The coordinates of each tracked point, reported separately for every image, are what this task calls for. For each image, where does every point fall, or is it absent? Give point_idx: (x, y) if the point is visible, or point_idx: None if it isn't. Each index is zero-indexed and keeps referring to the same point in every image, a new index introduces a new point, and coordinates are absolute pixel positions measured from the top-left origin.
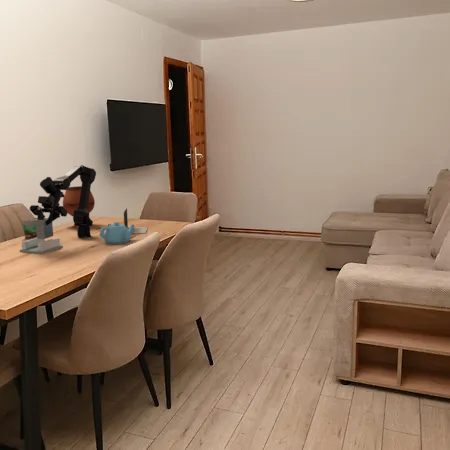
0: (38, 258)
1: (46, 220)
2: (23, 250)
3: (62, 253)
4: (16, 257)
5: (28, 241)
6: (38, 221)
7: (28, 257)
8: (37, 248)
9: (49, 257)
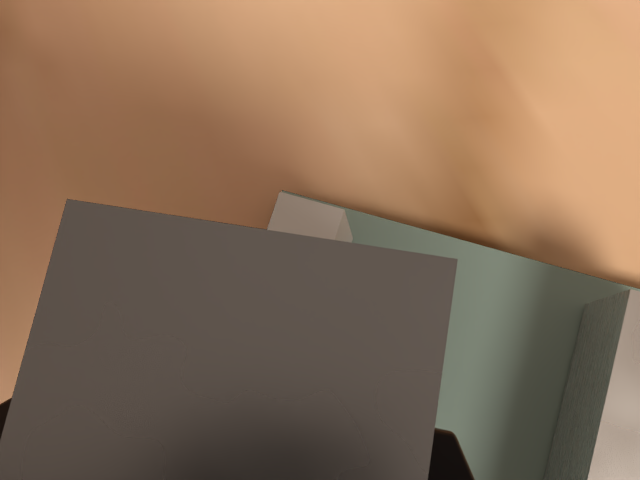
0: (235, 4)
1: (15, 417)
2: (605, 280)
3: (44, 243)
4: (522, 17)
5: (608, 368)
6: (297, 236)
7: (373, 32)
8: (445, 391)
9: (130, 55)
